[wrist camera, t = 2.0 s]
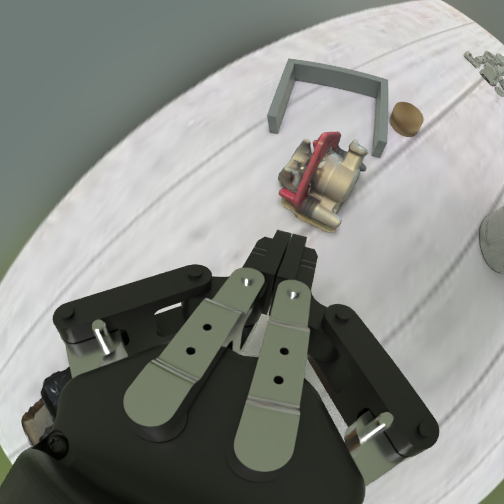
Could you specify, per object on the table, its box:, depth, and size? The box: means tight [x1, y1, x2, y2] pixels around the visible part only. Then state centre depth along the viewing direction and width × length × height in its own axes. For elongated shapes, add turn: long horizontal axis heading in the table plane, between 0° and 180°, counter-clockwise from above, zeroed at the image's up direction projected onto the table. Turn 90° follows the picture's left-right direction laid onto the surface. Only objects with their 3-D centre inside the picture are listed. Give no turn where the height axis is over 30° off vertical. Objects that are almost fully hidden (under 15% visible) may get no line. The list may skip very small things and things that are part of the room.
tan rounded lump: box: [390, 102, 423, 137], centre depth 34 cm, size 5×5×3 cm
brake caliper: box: [278, 132, 368, 233], centre depth 31 cm, size 11×11×12 cm
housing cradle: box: [267, 59, 388, 158], centre depth 36 cm, size 16×14×4 cm
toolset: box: [21, 367, 72, 446], centre depth 27 cm, size 40×20×27 cm
